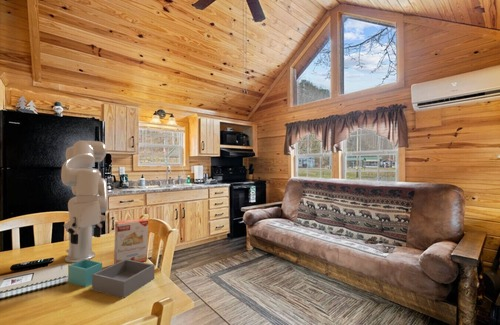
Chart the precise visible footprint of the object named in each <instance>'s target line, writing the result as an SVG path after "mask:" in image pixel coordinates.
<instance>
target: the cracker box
mask: <svg viewBox="0 0 500 325" xmlns="http://www.w3.org/2000/svg"><path fill="white" fill-rule="evenodd" d="M114 224H115V227H114V253H113V256H114V257H113V265H114V264H116V263H118V262H121V261H123V260H125V259H127V260H132V261H138V262H143V263H146V262H147V261H148V260H147V259H148V237H149V220H148V219H146V218H136V219H128V220H127V219H125V220H120V221H119V220H118V221H117V220H116V221H114Z"/></svg>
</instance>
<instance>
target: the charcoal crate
mask: <svg viewBox="0 0 500 325" xmlns="http://www.w3.org/2000/svg"><path fill="white" fill-rule="evenodd" d="M155 268H156V266H155V264H151V263H147V262H138V261H132V260H127V259H125V260H123V261H121V262H118V263H116V264H114V263H113V264H112V265H109V266H108V267H106V268H102V270H101V271H99V272H96V273H94V274H92V284H91V290H92V291H95V292H98V293H102V294H105V295H109V296H114V297H118V298H121V299H125V298H126V297H128V296H130V295H131V294H133V293H134V292H136V291H138V290H139V289H140V288H142V287H144V286H145V285H147V284H149V283H150V282H152V281H153V280H155ZM151 280H152V281H151Z"/></svg>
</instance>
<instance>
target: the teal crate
mask: <svg viewBox="0 0 500 325" xmlns="http://www.w3.org/2000/svg"><path fill="white" fill-rule="evenodd" d="M101 270H103V262H100V261H97V260H91V259H89V260H87V259H84V260H82V261H79V262H73V263H71V264H69V265H68V270H67V271H68V275H67V283H68V284H72V285H76V286H79V287H84V288H87V287H90V286H92V274H94V273H96V272H99V271H101Z"/></svg>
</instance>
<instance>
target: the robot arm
mask: <svg viewBox="0 0 500 325" xmlns="http://www.w3.org/2000/svg"><path fill="white" fill-rule="evenodd" d="M107 150H108V149H107V146H106V144H105V143H104V142H103V141H98V140H97V141H96V140H77V141H76V142H75V143H73V145H72V146H69V147H67V148H66V150H65V161H64V162H63V164H62V166H61V175H60V176H61V178H60V179H61V182H62V184H63V185H64V186H66V187H71V192H72V194H73V195H75V196H73V197H72V198H70V199H69V200H68V202H67V209H68V214H69V220H68V221H67V222H66V223H65V224H63V227H64V229H65V231H66V232H67V233H69V242H68V245H69V246H68V249H66V250H65V252H66V253H68V254H67V255H66V257H65V258H64V261H65V262H67V263H76V262H79V261H82V260H84V259H87V260H91V259H93V258H94V257H95V256H96V252H95V251H92V248H93V237H94V238H101V234H102V230H101V229H102V228H103V225H104V224H105V223H106V222H105V221H106V218H107V216H106V215H104V213H106V212H107V211H108V209H109V192H108V184H107V180H106V179H105V178H103V177H102V173H101V171H100V170H99V169H98V168H91V166H93V165H94V164H95V163H101V162H103V160H104V159H105V158H106V155H107ZM93 226H94V228H93Z"/></svg>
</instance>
